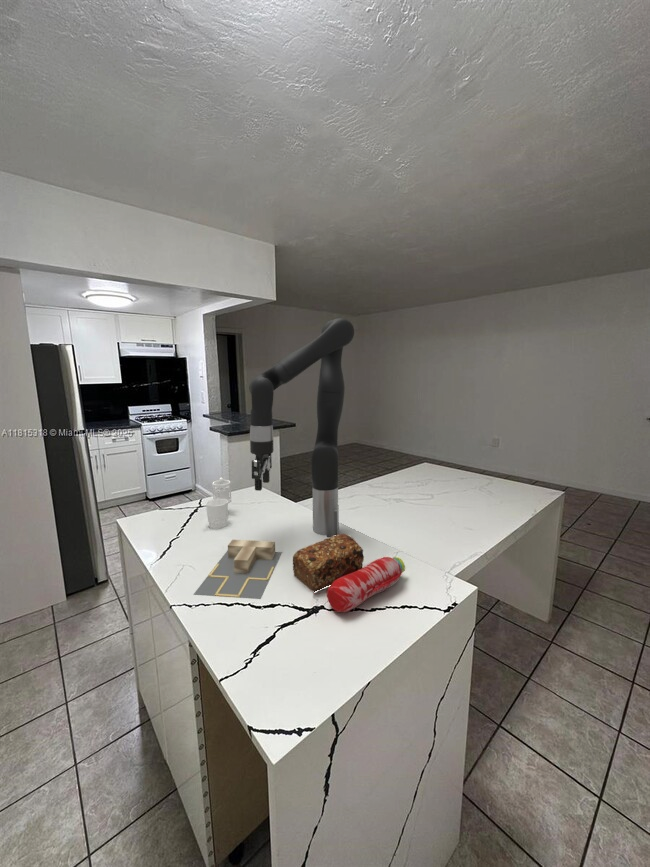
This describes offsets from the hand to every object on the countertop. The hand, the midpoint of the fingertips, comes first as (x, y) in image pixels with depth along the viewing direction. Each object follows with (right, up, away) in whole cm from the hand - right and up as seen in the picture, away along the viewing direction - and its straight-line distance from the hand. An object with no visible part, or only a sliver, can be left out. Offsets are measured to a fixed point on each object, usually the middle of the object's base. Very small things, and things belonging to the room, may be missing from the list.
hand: (262, 486), depth 119 cm
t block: (-2, -22, -11) cm, 24 cm away
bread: (+22, -24, -17) cm, 36 cm away
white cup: (-20, -18, +16) cm, 31 cm away
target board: (-3, -23, -16) cm, 28 cm away
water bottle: (+32, -25, -24) cm, 47 cm away
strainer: (-21, -16, +28) cm, 39 cm away
